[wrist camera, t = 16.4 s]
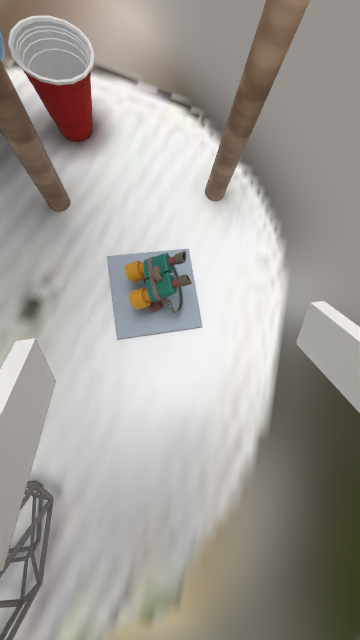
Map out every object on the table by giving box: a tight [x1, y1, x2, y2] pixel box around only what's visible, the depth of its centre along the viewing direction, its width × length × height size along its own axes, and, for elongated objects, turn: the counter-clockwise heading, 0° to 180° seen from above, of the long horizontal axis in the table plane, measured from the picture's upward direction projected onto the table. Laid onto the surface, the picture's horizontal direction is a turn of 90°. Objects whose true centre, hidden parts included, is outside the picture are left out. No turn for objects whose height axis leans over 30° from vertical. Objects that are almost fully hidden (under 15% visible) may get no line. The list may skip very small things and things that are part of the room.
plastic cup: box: [8, 16, 94, 142], centre depth 38 cm, size 11×11×12 cm
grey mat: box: [107, 249, 202, 339], centre depth 40 cm, size 14×14×1 cm
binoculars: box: [125, 251, 192, 313], centre depth 36 cm, size 9×9×10 cm
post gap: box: [0, 0, 310, 211], centre depth 30 cm, size 4×32×26 cm, turn 99°
